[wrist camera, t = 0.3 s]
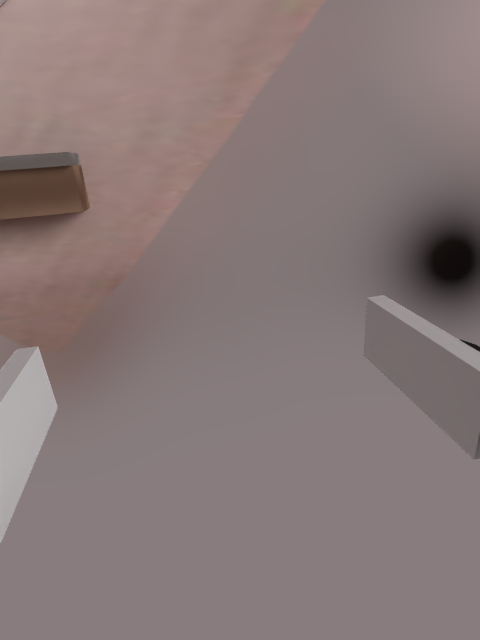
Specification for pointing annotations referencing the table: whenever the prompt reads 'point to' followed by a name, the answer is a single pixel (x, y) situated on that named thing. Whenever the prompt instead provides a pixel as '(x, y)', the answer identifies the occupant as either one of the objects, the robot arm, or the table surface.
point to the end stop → (41, 185)
